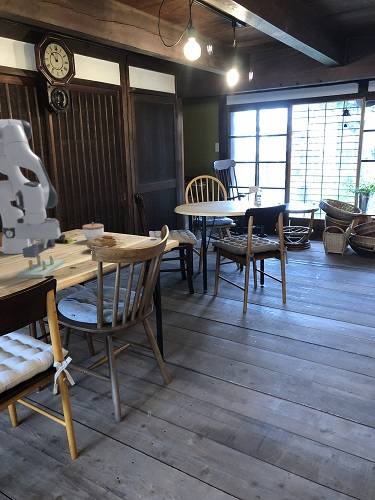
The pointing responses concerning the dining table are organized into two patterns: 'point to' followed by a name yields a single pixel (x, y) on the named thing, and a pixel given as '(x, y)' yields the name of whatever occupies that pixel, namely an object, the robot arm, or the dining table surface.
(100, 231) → the lidded bowl
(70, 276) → the dining table surface
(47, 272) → the rack
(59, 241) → the stun gun
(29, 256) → the grey long bar
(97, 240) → the nautilus
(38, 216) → the robot arm
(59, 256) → the dining table surface
